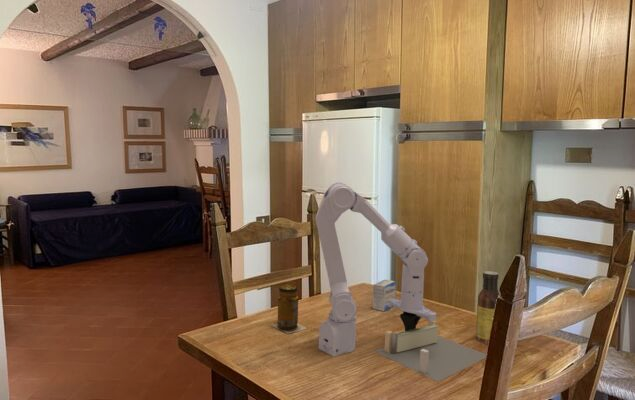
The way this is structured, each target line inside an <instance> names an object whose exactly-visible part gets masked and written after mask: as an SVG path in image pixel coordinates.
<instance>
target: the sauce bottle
mask: <svg viewBox="0 0 635 400" xmlns="http://www.w3.org/2000/svg"><path fill="white" fill-rule="evenodd" d="M482 278H483V279H482V280H483V281H482V289H481V291H479V293H478V295H477V305H476V306H477V308H476V327H475V336H476V337H475V338H476V340H477V341H478V342H480V343H482V344H484V345H485V344H486V345H489V344H488V341H489V336H490V330H491V325H492V318H493V315H494V309H495V304H496V299H497V297H498V295H500V293H499V289H498V280H499V272H496V271H493V270H492V271H491V270H490V271H489V270H487V271H486V270H485V271H483V273H482Z"/></svg>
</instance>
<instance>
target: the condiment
mask: <svg viewBox="0 0 635 400" xmlns="http://www.w3.org/2000/svg"><path fill="white" fill-rule="evenodd" d="M278 290H279V291H278V294H279V295H278V296H277V323H273V324H271V326H272V327H273V328H275V329H277V330H279V331H282V332H283V333H285V334H292V333H296V332H300V331H304V330H307V329H308V328H307V327H305V326H304V325H302V324H299V323H298V322H299V321H298V320H299V296H298V287H297V286H295V285H289V284H286V285H280V287H279V289H278Z"/></svg>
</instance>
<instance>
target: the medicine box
mask: <svg viewBox="0 0 635 400" xmlns="http://www.w3.org/2000/svg"><path fill="white" fill-rule="evenodd" d="M396 285H397V284H396V281H394V280H391V279H383V280H381V281H378V282H377V283H374V284H373V287H372V309H373V310H376V311H380V312H386V311H388V310H390V309H391V308H392V307H389V306H388V302H389V299H393V298H394V299H396V289H397V288H396Z"/></svg>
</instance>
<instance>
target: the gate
mask: <svg viewBox="0 0 635 400" xmlns="http://www.w3.org/2000/svg"><path fill="white" fill-rule="evenodd" d="M438 332H439V325H437V324H436V325H435V324H434V325H430V326H428V325H427V326H426V325H425V326H422V327H421V326H420V327H418V328H417V327H416V329H413V330H408V331H405V330H404V331H401V332H396V333H393V334H392V348H391V352H392V353H395V351H396V352H401V351H405V350H409V349H413V348H417V347H421V346H424V345H428V344H432V343H436V342H437V339H438V336H439V333H438Z"/></svg>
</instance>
